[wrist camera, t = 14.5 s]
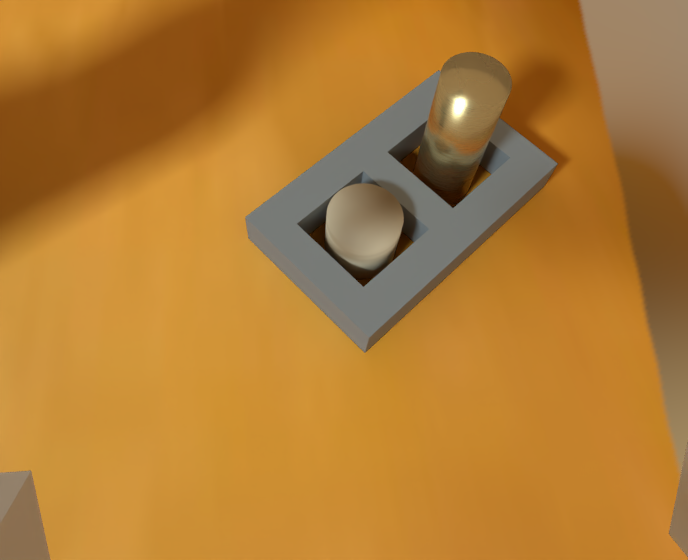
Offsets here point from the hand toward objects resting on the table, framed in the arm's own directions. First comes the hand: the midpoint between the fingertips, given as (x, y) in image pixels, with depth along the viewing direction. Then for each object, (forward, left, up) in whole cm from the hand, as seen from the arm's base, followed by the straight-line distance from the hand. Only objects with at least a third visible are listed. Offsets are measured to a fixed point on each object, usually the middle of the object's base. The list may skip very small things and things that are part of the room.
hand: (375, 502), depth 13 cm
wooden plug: (-13, +16, -28) cm, 35 cm away
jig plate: (-13, +21, -28) cm, 37 cm away
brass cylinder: (-13, +25, -28) cm, 39 cm away
